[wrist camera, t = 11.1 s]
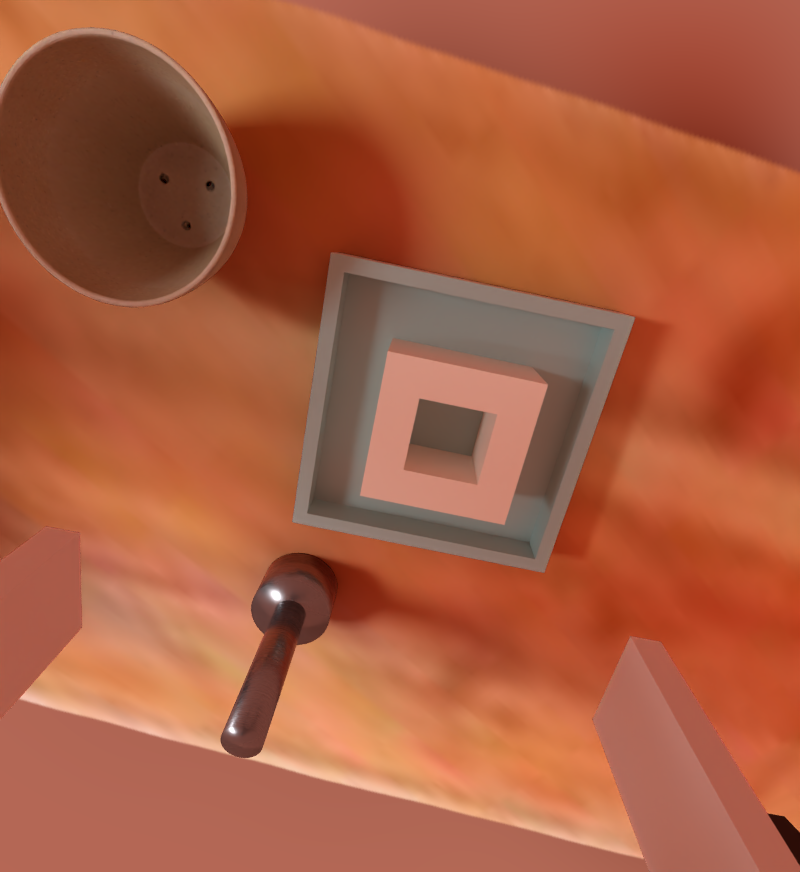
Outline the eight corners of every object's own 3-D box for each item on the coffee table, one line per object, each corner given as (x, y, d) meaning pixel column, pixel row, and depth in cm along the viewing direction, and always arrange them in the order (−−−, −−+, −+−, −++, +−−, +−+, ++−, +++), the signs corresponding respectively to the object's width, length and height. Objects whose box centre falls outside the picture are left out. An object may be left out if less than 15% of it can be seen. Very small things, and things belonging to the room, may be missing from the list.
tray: (301, 503, 33) (292, 522, 31) (338, 252, 27) (330, 252, 25) (536, 551, 33) (544, 572, 31) (618, 311, 28) (635, 317, 26)
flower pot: (321, 226, 27) (285, 219, 20) (181, 327, 29) (108, 350, 23) (200, 38, 24) (115, -43, 18) (57, 165, 27) (-67, 136, 20)
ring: (368, 466, 31) (359, 495, 27) (392, 337, 28) (387, 351, 25) (494, 492, 31) (504, 525, 28) (532, 367, 29) (548, 384, 25)
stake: (261, 606, 36) (186, 769, 25) (269, 546, 34) (191, 692, 23) (331, 620, 36) (288, 788, 25) (342, 561, 34) (301, 713, 23)
